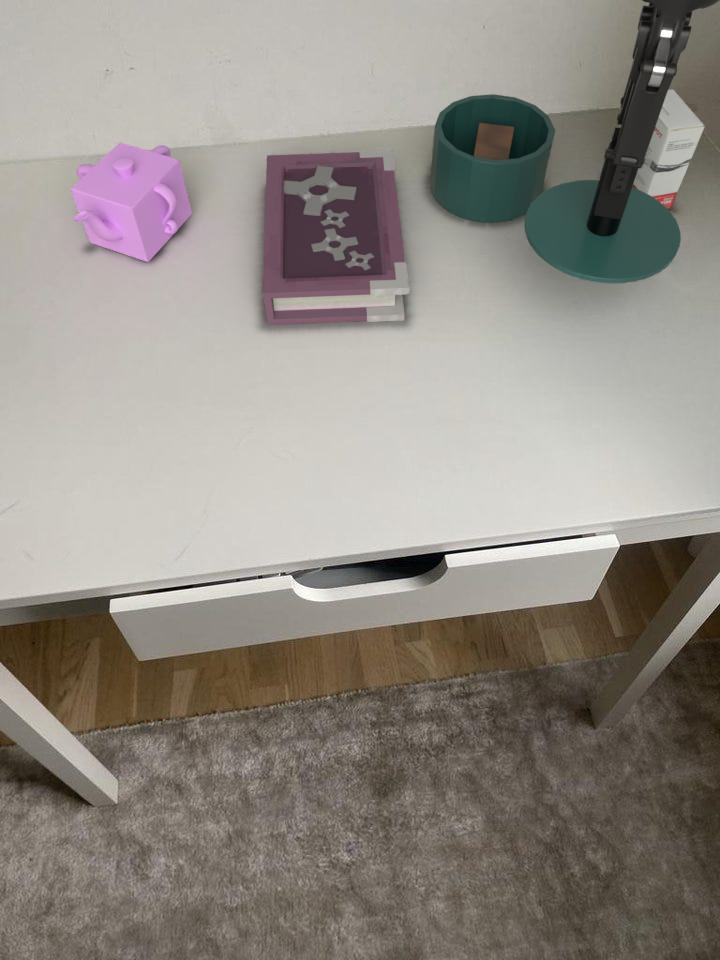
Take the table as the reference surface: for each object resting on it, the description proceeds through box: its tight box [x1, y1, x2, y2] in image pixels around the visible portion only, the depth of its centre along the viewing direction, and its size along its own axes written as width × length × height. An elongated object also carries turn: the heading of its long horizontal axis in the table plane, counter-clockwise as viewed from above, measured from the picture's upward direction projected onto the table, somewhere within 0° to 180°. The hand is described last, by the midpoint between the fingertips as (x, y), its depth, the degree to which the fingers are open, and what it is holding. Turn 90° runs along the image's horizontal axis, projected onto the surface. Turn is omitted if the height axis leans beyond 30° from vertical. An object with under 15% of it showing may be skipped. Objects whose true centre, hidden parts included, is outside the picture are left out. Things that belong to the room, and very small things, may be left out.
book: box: [262, 149, 410, 326], centre depth 93 cm, size 25×16×5 cm, turn 3°
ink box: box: [632, 88, 706, 210], centre depth 96 cm, size 8×5×12 cm, turn 14°
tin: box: [429, 93, 556, 224], centre depth 98 cm, size 15×15×8 cm
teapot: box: [70, 141, 193, 263], centre depth 92 cm, size 18×14×10 cm
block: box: [474, 123, 514, 160], centre depth 100 cm, size 4×4×4 cm
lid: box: [524, 138, 682, 284], centre depth 75 cm, size 16×16×10 cm
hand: (609, 202), depth 76 cm, fingers closed on lid, 3 cm apart
